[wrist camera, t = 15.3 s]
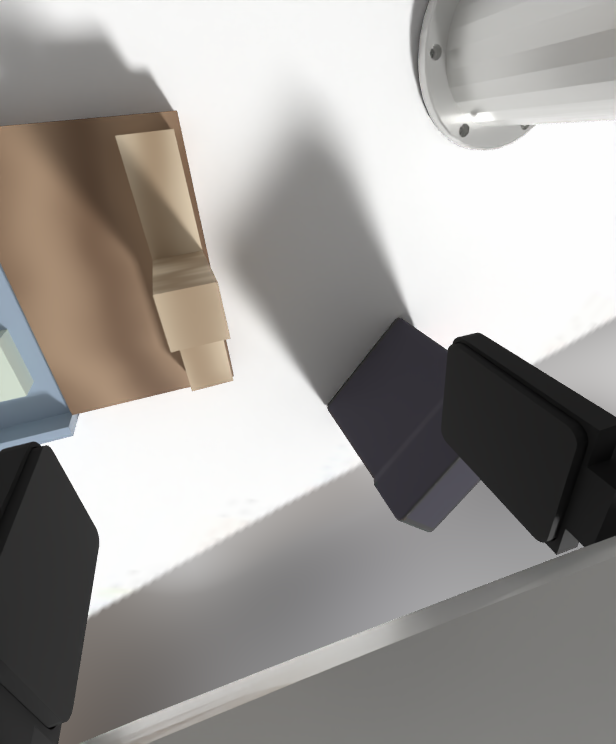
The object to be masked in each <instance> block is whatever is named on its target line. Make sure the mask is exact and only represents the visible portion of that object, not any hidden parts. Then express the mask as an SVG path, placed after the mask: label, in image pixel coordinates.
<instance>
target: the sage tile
mask: <svg viewBox="0 0 616 744" xmlns="http://www.w3.org/2000/svg"><path fill="white" fill-rule="evenodd" d="M33 382H34V381H33V379H32V377H31V375H30V373H29V371H28V369H27V367H26V365H25V363H24V361H23V359H22V357H21V355H20V353H19V351H18V349H17V347H16V345H15V343H14V341H13V339H12V337H11V335H10V333H9V331H8V329H6V330H1V331H0V402H2V401H7V400H11V399H15V398H20V397H24V396H27V394H28V392H29V390H30V388H31V386H32V384H33Z"/></svg>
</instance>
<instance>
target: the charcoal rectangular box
mask: <svg viewBox="0 0 616 744" xmlns="http://www.w3.org/2000/svg"><path fill="white" fill-rule="evenodd" d="M447 353H448V350H446V349H445V348H443V347H442V346H441V345H439V344H438V343H436V342H435V341H433V340H432V339H430V338H429V337H428V336H426V335H425V334H423V333H422V332H420V331H419V330H417V329H416V328H415V327H413V326H412V325H410V324H409V323H407V322H406V321H404V320H403V319H401V318H397V319H396V320H395V321H394V322H393V323H392V325H391V326H390V327H389V329H388V330H387V331H386V332H385V334H384V335H383V336H382V337H381V339H380V340H379V341H378V342H377V344H376V345H375V346H374V347H373V349H372V350H371V351H370V352H369V354H368V355H367V356H366V358H365V359H364V360H363V361H362V363H361V364H360V365H359V366H358V368H357V369H356V370H355V371H354V373H353V374H352V375H351V376H350V378H349V379H348V380H347V381H346V383H345V384H344V385H343V387H342V388H341V389H340V390H339V392H338V393H337V394H336V395H335V397H334V398H333V399H332V400H331V402H330V403H329V404H328V407H327V408H328V411H329V412H330V414H331V415H332V417H333V418H334V420H335V421H336V423H337V424H338V426H339V427H340V429H341V430H342V432H343V433H344V435H345V436H346V438H347V439H348V441H349V442H350V444H351V445H352V447H353V448H354V450H355V451H356V453H357V454H358V456H359V457H360V459H361V460H362V462H363V463H364V465H365V466H366V468H367V469H368V471H369V472H370V474H371V475H372V477H373V478H374V485H375V487H376V488H377V490H378V491H379V493H380V494H381V496H382V498H383V499H384V501H385V502H386V504H387V505H388V507H389V508H390V510H391V511H392V513H393V514H394V516H395V517H396V518H397V520H399V521H401V522H404V523H407V524H409V525H411V526H414V527H416V528H419V529H422V530H424V531H427V532H432V531H433V530H434V529H435V528H436V527H437V526H438V525H439V524H440V523H441V522H442V521H443V520H444V519H445V518H446V517H447V515H448V514H449V513H450V512H451V511H452V510H453V509H454V508H455V507H456V506H457V505H458V504H459V503H460V502H461V500H462V499H463V498H464V497H465V496H466V495H467V494H468V493H469V492H470V491H471V490H472V489H473V488H474V487H475V485H477V483H478V482H479V481H480V480H481V479H480V478H479V477H478V476H477V475H476V474H475V473H474V472H473V471H472V470H471V469H470V467H469V466H468V465H467V464H466V463H465V462H464V461H463V460H462V459H461V458H460V457H459V456H458V454H457V453H456V452H455V451H454V450H453V449H452V448H451V447H450V446H449V445H448V444H447V443H446V441H445V440H444V438H443V436H442V432H441V422H442V410H443V399H444V387H445V376H446V364H447Z"/></svg>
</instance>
